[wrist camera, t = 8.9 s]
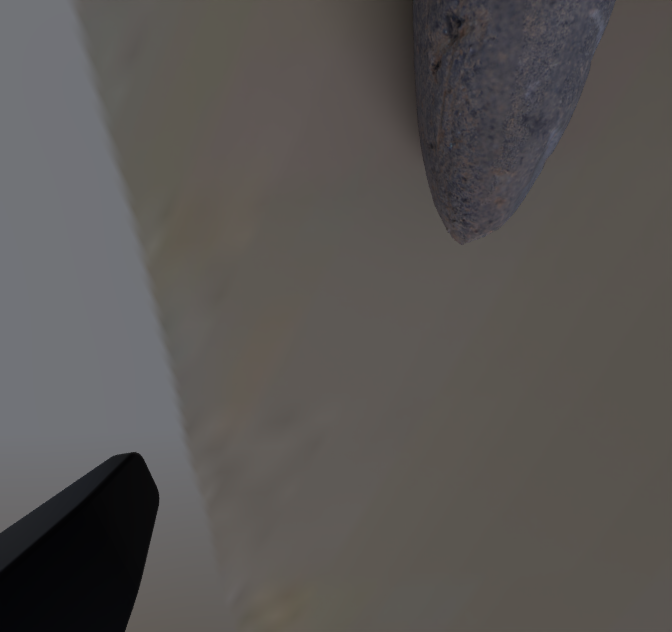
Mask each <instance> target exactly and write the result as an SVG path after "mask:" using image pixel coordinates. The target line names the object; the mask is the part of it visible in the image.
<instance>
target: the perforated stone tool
mask: <svg viewBox="0 0 672 632" xmlns="http://www.w3.org/2000/svg"><path fill="white" fill-rule="evenodd" d="M615 1H616V0H413V32H414V68H415V84H416V99H417V115H418V127H419V134H420V143H421V149H422V156H423V161H424V165H425V170H426V176H427V180H428V184H429V187H430V191H431V194H432V198H433V201H434V204H435V207H436V209H437V211H438V213H439V215H440V217H441V219H442V221H443V223H444V225H445V227H446V229H447V231H448V233H450V234H451V237H452V238H454V239H455V241H457V242H458V243H459V244H461V245H463V244H464V243H468V242H471V241H473V240H476V239H479V238H480V237H485V236H486V235H488V234H490V233H492V232H493V231H495V230H497V229H499V228H500V227H501V226H502V225H503V224H504V223H505V222H506V221H507V220H508V219H509V218H510V217H511V216H512V215H513V213H514V212H515V211H516V210H517V208H518V207H519V205H520V204H521V202H522V201H523V200H524V198H525V197H526V195H527V193H528V192H529V190H530V189H531V187H532V185H533V184H534V182H535V180H536V178H537V177H538V176H539V174H540V173H541V171H542V169H543V167H544V164H545V162H546V159H547V158H548V157H549V156H550V154H552V152H553V151H554V149H555V147H556V145H557V144H558V142H559V140H560V138H561V137H562V135H563V133H564V131H565V129H566V127H567V125H568V123H569V121H570V119H571V117H572V114H573V112H574V110H575V108H576V105H577V103H578V101H579V98H580V96H581V93H582V90H583V87H584V85H585V82H586V79H587V76H588V73H589V70H590V63H591V60H592V57H593V55H594V52H595V50H596V48H597V46H598V44H599V42H600V40H601V37H602V35H603V33H604V30H605V28H606V26H607V23H608V21H609V18H610V15H611V13H612V10H613V7H614V4H615Z"/></svg>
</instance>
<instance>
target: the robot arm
mask: <svg viewBox="0 0 672 632" xmlns="http://www.w3.org/2000/svg"><path fill="white" fill-rule="evenodd" d="M158 506H159V492H158V489H157V486H156V484H155V482H154V480H153V478H152V476H151V473H150V471H149V469H148V467H147V465H146V463H145V461H144V459H143V457H142V456H141V455H140V454H139V453H136V452H131V453H125V454H119V455H115V456H112V457H111V458H109V459H108V460H106V461H105V462H103V463H102V464H100V465H99V466H97V467H96V468H94V469H93V470H92V471H90V472H89V473H87V474H86V475H84V476H83V477H81V478H80V479H78V480H77V481H76V482H74V483H73V484H71V485H70V486H68V487H67V488H65V489H64V490H62V491H61V492H60V493H58V494H57V495H55V496H54V497H52V498H51V499H49V500H48V501H46V502H45V503H43V504H42V505H41V506H39V507H38V508H36V509H35V510H33V511H32V512H30V513H29V514H28V515H26V516H25V517H23V518H22V519H20V520H19V521H17V522H16V523H14V524H13V525H11V526H10V527H9V528H7V529H6V530H4V531H3V532H2V533H0V632H125V630H126V627H127V624H128V621H129V618H130V615H131V612H132V609H133V606H134V603H135V600H136V597H137V594H138V590H139V586H140V582H141V579H142V575H143V571H144V566H145V562H146V558H147V554H148V549H149V545H150V541H151V537H152V532H153V528H154V524H155V519H156V515H157V511H158Z"/></svg>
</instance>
